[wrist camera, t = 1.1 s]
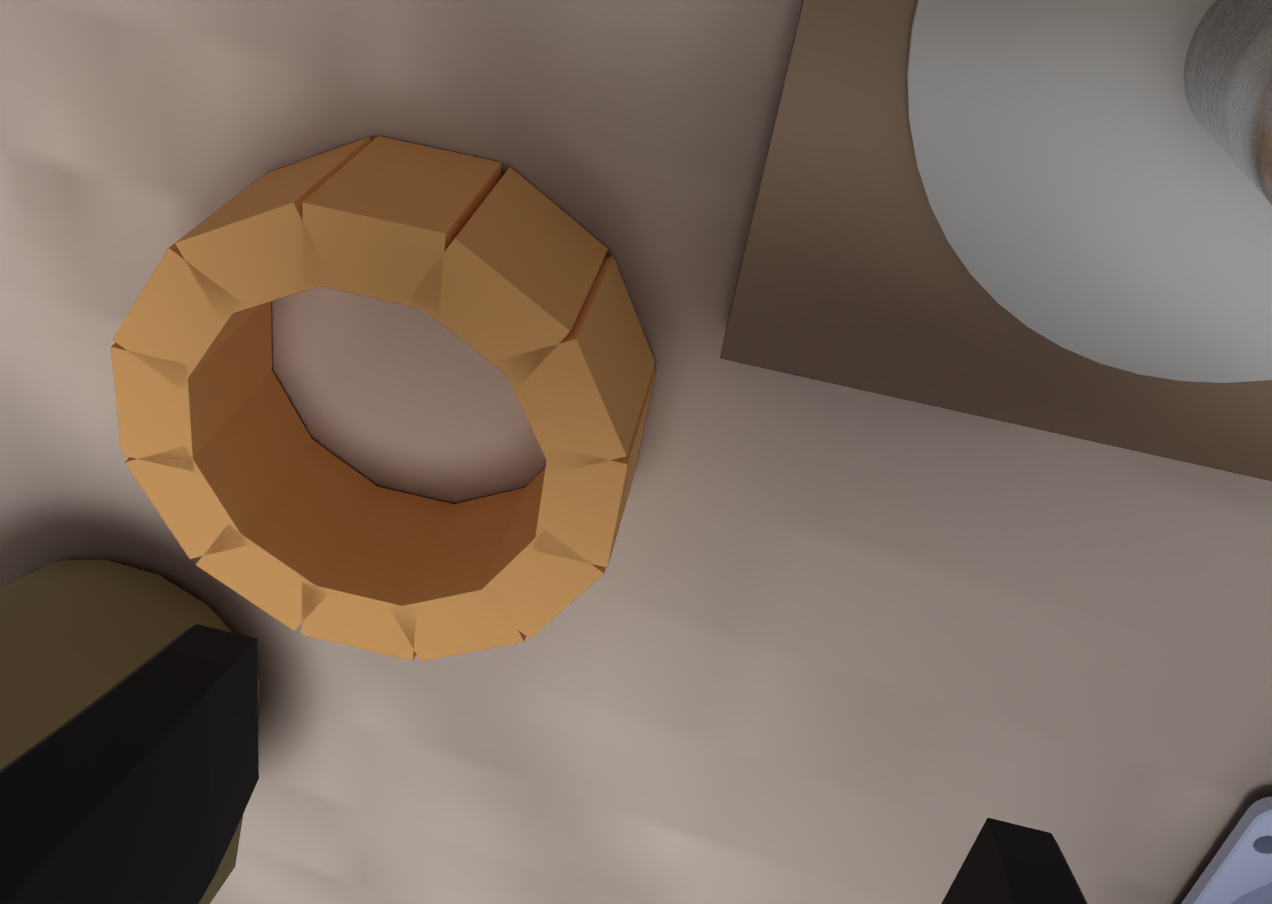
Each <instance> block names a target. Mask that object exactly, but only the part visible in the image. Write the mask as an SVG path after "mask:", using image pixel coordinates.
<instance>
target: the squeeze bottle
mask: <svg viewBox="0 0 1272 904" xmlns="http://www.w3.org/2000/svg"><path fill="white" fill-rule="evenodd" d="M196 624H199V625H203V626H207V627H211V628H215V629H219V630H223V631H227V632H232V631H231V630H230V629H229V628H228V627H227V626H226V624H225V623H224V622H223V621H222V620H221V619H220V618H219V617H218V616H217V615H216V614H215V613H214V612H213V610H212V609H211V608H210V607H209V606H208V605H207V604H205V603H204V602H202V601H200V600H199V599H197V598H195V597H194V596H192V595H190V594H189V593H187V592H186V591H184V590H182V589H181V588H179V587H177V586H176V585H174V584H172V583H171V582H169V581H168V580H166V579H164V578H163V577H161V576H159V575H157V574H154V573H150V572H147V571H143V570H140V569H137V568H133V567H130V566H126V565H123V564H119V563H116V562H112V561H109V560H106V559H98V560H67V561H55V562H53V563H51V564H49V565H47V566H44V567H42V568H40V569H38V570H36V571H34V572H32V573H30V574H28V575H25V576H23V577H21V578H19V579H17V580H15V581H13V582H11V583H8V584H6V585H4V586H2V587H0V770H1V769H2V768H4V767H5V766H6V765H8V764H9V763H10V762H12V761H13V760H15V759H16V758H17V757H19V756H20V755H22V754H23V753H24V752H26V751H27V750H28V749H30V748H31V747H33V746H34V745H35V744H37V743H38V742H40V741H41V740H42V739H44V738H45V737H46V736H48V735H49V734H51V733H52V732H53V731H55V730H56V729H58V728H59V727H60V726H62V725H63V724H64V723H66V722H67V721H68V720H70V719H71V718H72V717H74V716H75V715H76V714H78V713H79V712H80V711H82V710H83V709H84V708H86V707H87V706H88V705H90V704H91V703H92V702H94V701H95V700H96V699H98V698H99V697H100V696H102V695H103V694H104V693H106V692H107V691H108V690H109V689H111V688H112V687H113V686H115V685H116V684H117V683H119V682H120V681H121V680H122V679H124V678H125V677H126V676H128V675H129V674H130V673H131V672H133V671H134V670H135V669H137V668H138V667H139V666H140V665H142V664H143V663H144V662H146V661H147V660H148V659H149V658H151V657H152V656H153V655H155V654H156V653H157V652H158V651H160V650H161V649H162V648H164V647H165V646H166V645H167V644H169V643H170V642H171V641H173V640H174V639H175V638H176V637H178V636H179V635H180V634H182V633H183V632H184V631H185V630H187V629H189V628H191V627H192V626H194V625H196ZM232 633H233V632H232ZM257 689H258V710H259V696H260V682H259V679H258V677H257ZM242 818H243V815H242V817H241V820H240V822H239V824H238V827H237V829H236V831H235V833H234V835H233V838H232V840H231V842H230V844H229V846H228V848H227V850H226V853H225V855H224V857H223V859H222V861H221V863H220V866H219V868H218V870H217V872H216V874H215V876H214V878H213V880H212V881H211V883H210V885H209V887H208V888H207V890H206V892H205V893H204V895H203V897H202V899H201V900H200V902H199V904H210V902H211V901H212V899H213V898H214V897H215V895H216V894H217V892H218V891H219V889H220V888H221V886H222V885H223V883H224V882H225V880H226V879H227V877H228V876H229V874H230V873H231V872H232V870H233V869H234V867H235V863H236V857H237V850H238V844H239V837H240V831H241V825H242Z"/></svg>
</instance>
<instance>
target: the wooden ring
mask: <svg viewBox="0 0 1272 904" xmlns="http://www.w3.org/2000/svg"><path fill="white" fill-rule="evenodd" d="M501 168H502V162H497V161H492V160H488V159H483V158H479V157H474V156H469V155H465V154H460V153H456V152H451V151H446V150H442V149H437V148H433V147H428V146H423V145H419V144H414V143H410V142H405V141H400V140H396V139H391V138H387V137H382V136H378V137H377V138H375V139H374V140H373V141H372V139H371V137H367V138H364V139H361V140H358V141H355V142H353V143H350V144H347V145H344V146H341V147H339V148H336V149H333V150H330V151H327V152H325V153H322V154H319V155H316V156H313V157H311V158H308V159H305V160H302V161H299V162H297V163H294V164H291V165H288V166H285V167H283V168H280V169H277V170H274V171H271V172H268V173H266V174H264V175H263V176H262V177H260V178H259V179H258V180H256V181H255V182H254V183H253V184H251V185H250V186H249V187H247V188H246V189H245V190H243V191H242V192H241V193H240V194H238V195H237V196H236V197H234V198H233V199H232V200H230V201H229V202H228V203H227V204H225V205H224V206H223V207H221V208H220V209H219V210H217V211H216V212H215V213H214V214H212V215H211V216H210V217H208V218H207V219H206V220H204V221H203V222H202V223H201V224H199V225H198V226H197V227H195V228H194V229H193V230H191V231H190V232H189V233H188V234H186V235H185V236H184V237H182V238H181V239H180V240H178V241H177V242H176V243H175V244H173V245H172V246H171V247H169V248H168V250H167V252H166V253H165V255H164V257H163V258H162V260H161V261H160V263H159V265H158V266H157V268H156V269H155V271H154V273H153V274H152V276H151V278H150V279H149V281H148V282H147V284H146V286H145V287H144V289H143V290H142V292H141V294H140V295H139V297H138V299H137V300H136V302H135V303H134V305H133V307H132V308H131V310H130V312H129V313H128V315H127V316H126V318H125V320H124V321H123V323H122V324H121V326H120V328H119V329H118V331H117V333H116V334H115V336H114V337H113V339H112V340H113V341H115V342H116V343H115V344H113V345H112V346H111V356H112V365H113V375H114V385H115V394H116V404H117V413H118V423H119V433H120V442H121V452H122V455H123V456H127V457H130V458H129V459H128V460H127V461H126V462H125V464H126V465H127V467H128V468H129V470H130V471H131V473H132V474H133V476H134V477H135V479H136V480H137V482H138V483H139V485H140V486H141V487H142V489H143V490H144V492H145V493H146V495H147V496H148V498H149V499H150V501H151V502H152V504H153V505H154V507H155V508H156V510H157V511H158V513H159V514H160V516H161V517H162V519H163V520H164V522H165V523H166V525H167V526H168V527H169V529H170V530H171V532H172V533H173V535H174V536H175V538H176V539H177V541H178V542H179V544H180V545H181V547H182V548H183V550H184V551H185V553H186V554H187V556H188V557H189V559H193V558H197V557H201V556H202V557H201V559H200V560H199V561H198V563H197V564H196V565H197V566H198V567H200V568H201V569H203V570H204V571H206V572H207V573H208V574H210V575H211V576H213V577H214V578H216V579H217V580H219V581H220V582H222V583H223V584H225V585H226V586H228V587H229V588H231V589H232V590H234V591H235V592H237V593H238V594H240V595H241V596H243V597H244V598H246V599H247V600H248V601H250V602H251V603H253V604H254V605H256V606H257V607H259V608H260V609H262V610H263V611H265V612H266V613H268V614H269V615H271V616H272V617H274V618H275V619H277V620H278V621H280V622H281V623H283V624H284V625H286V626H287V627H288V628H290V629H291V630H293V631H295V630H296V629H297V628H298V627H299V626H300V624H301V623H302V635H305V636H309V637H314V638H318V639H322V640H326V641H331V642H335V643H339V644H343V645H348V646H352V647H356V648H360V649H364V650H369V651H373V652H377V653H381V654H386V655H390V656H394V657H398V658H403V659H407V660H411V661H413V660H414V657H415V655H416V654H417V656H418V658H419V660H420V661H424V660H430V659H435V658H440V657H446V656H451V655H456V654H462V653H467V652H473V651H478V650H483V649H489V648H494V647H499V646H505V645H510V644H516V643H521V642H524V641H525V638H526V636H527V637H528V638H530V639H531V638H532V637H533V636H534V635H535V634H537V633H538V632H539V631H540V630H541V629H542V628H543V627H544V626H546V625H547V624H548V623H549V622H550V621H551V620H552V619H553V618H555V617H556V616H557V615H558V614H559V613H560V612H561V611H562V610H564V609H565V608H566V607H567V606H568V605H569V604H570V603H571V602H573V601H574V600H575V599H576V598H577V597H578V596H579V595H580V594H582V593H583V592H584V591H585V590H586V589H587V588H588V587H589V586H591V585H592V584H593V583H594V582H595V581H596V580H597V579H598V578H600V577H601V576H602V575H603V574H604V572H605V568H606V567H608V564H609V560H610V557H611V553H612V550H613V546H614V543H615V540H616V536H617V533H618V529H619V526H620V522H621V519H622V515H623V512H624V508H625V505H626V501H627V498H628V494H629V491H630V487H631V484H632V480H633V477H634V473H635V470H636V466H637V462H638V457H639V452H640V447H641V442H642V437H643V432H644V427H645V422H646V417H647V412H648V407H649V402H650V397H651V392H652V387H653V382H654V377H655V372H656V369H653V368H654V365H655V360H654V357H653V355H652V352H651V350H650V347H649V345H648V342H647V339H646V337H645V334H644V332H643V329H642V327H641V324H640V322H639V319H638V317H637V314H636V312H635V309H634V307H633V304H632V302H631V299H630V297H629V294H628V292H627V289H626V286H625V284H624V281H623V279H622V276H621V274H620V271H619V269H618V266H617V264H616V261H615V259H614V256H611V257H607V258H604V257H605V255H606V253H607V251H608V248H607V247H606V246H604V245H603V244H602V243H601V242H600V241H598V240H597V239H596V238H595V237H594V236H592V235H591V234H590V233H589V232H588V231H586V230H585V229H584V228H583V227H582V226H580V225H579V224H578V223H577V222H576V221H574V220H573V219H572V218H571V217H570V216H568V215H567V214H566V213H565V212H564V211H563V210H561V209H560V208H559V207H558V206H557V205H555V204H554V203H553V202H552V201H551V200H549V199H548V198H547V197H546V196H545V195H543V194H542V193H541V192H540V191H539V190H537V189H536V188H535V187H534V186H533V185H531V184H530V183H529V182H528V181H527V180H525V179H524V178H523V177H522V176H521V175H520V174H518V173H517V172H516V171H515V170H514V169H512V168H511V167H509V169H508V170H507V171H506V172H505V174H504V175H503V176H502V177H501ZM500 178H501V179H500ZM318 286H322V287H326V288H331V289H335V290H340V291H344V292H349V293H353V294H358V295H362V296H367V297H371V298H376V299H380V300H385V301H389V302H394V303H398V304H403V305H407V306H412V307H416V308H420V309H423V310H424V311H426V312H427V313H428V314H429V315H431V316H432V317H433V318H435V319H436V320H437V321H438V322H440V323H441V324H442V325H444V326H445V327H446V328H447V329H449V330H450V331H451V332H452V333H454V334H455V335H456V336H458V337H459V338H460V339H461V340H463V341H464V342H465V343H467V344H468V345H469V346H470V347H472V348H473V349H474V350H476V351H477V352H478V353H479V354H481V355H482V356H483V357H485V358H486V359H487V360H488V361H490V362H491V363H492V364H493V365H495V366H496V367H497V368H499V369H500V370H501V371H502V372H504V373H505V374H506V375H507V376H508V379H509V381H510V383H511V385H512V387H513V389H514V391H515V394H516V396H517V398H518V400H519V402H520V404H521V406H522V409H523V411H524V413H525V415H526V417H527V419H528V421H529V423H530V426H531V428H532V430H533V432H534V434H535V436H536V438H537V441H538V443H539V445H540V447H541V449H542V451H543V453H544V456H545V458H546V460H547V462H546V467H545V468H544V469H543V470H542V471H541V472H540V473H539V474H538V475H537V476H536V477H535V478H534V479H533V480H532V481H531V482H530V483H529V484H528V485H527V486H526V487H525V488H521V489H517V490H513V491H508V492H504V493H500V494H496V495H491V496H487V497H483V498H478V499H474V500H470V501H465V502H461V503H457V504H451V503H447V502H442V501H438V500H434V499H429V498H425V497H421V496H416V495H412V494H408V493H403V492H399V491H395V490H390V489H386V488H382V487H377V486H376V485H375V484H373V483H372V482H371V481H369V480H368V479H366V478H365V477H364V476H362V475H361V474H359V473H358V472H357V471H355V470H354V469H353V468H351V467H350V466H348V465H347V464H346V463H344V462H343V461H342V460H340V459H339V458H337V457H336V456H335V455H333V454H332V453H331V452H329V451H328V450H326V449H325V448H324V447H322V446H321V445H320V444H318V443H317V442H315V441H314V440H313V439H312V438H311V437H310V435H309V433H308V431H307V430H306V428H305V426H304V424H303V423H302V421H301V419H300V418H299V416H298V414H297V412H296V411H295V409H294V407H293V405H292V404H291V402H290V400H289V398H288V397H287V395H286V393H285V392H284V390H283V388H282V386H281V385H280V383H279V381H278V379H277V378H276V376H275V374H274V372H273V371H272V321H271V301H273V300H276V299H279V298H283V297H286V296H289V295H292V294H295V293H299V292H302V291H305V290H308V289H311V288H315V287H318Z"/></svg>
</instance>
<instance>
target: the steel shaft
mask: <svg viewBox="0 0 1272 904" xmlns="http://www.w3.org/2000/svg"><path fill="white" fill-rule="evenodd" d="M1184 83H1185V91H1186V96H1187V100H1188V103H1189V105H1190V108H1191V110H1192V112H1193V114H1194V115H1195V117H1196V119H1197V120H1198V122H1199V123H1200V124H1201V125H1202V126H1203V128H1204V129H1205V130H1206V131H1207V132H1208V133H1209V135H1210V136H1211V137H1212V138H1213V139H1214V140H1215V141H1216V143H1217V144H1218V145H1219V146H1220V147H1221V148H1222V149H1223V151H1224V152H1225V153H1226V154H1227V155H1228V156H1229V157H1230V158H1231V160H1232V161H1233V162H1234V163H1235V164H1236V165H1237V166H1238V168H1239V169H1240V170H1241V171H1242V172H1243V173H1244V174H1245V176H1246V177H1247V178H1248V179H1249V180H1250V181H1251V182H1252V184H1253V185H1254V186H1255V187H1256V188H1257V189H1258V190H1259V192H1260V193H1261V194H1262V195H1263V196H1264V197H1265V198H1266V199H1267V201H1268V202H1269V203H1270V204H1271V205H1272V0H1216V1H1215V2H1214V3H1213V5H1212V6H1211V7H1210V8H1209V10H1208V11H1207V12H1206V14H1205V15H1204V17H1203V18H1202V20H1201V21H1200V23H1199V25H1198V27H1197V29H1196V31H1195V33H1194V35H1193V37H1192V40H1191V43H1190V45H1189V48H1188V52H1187V56H1186V61H1185V70H1184Z"/></svg>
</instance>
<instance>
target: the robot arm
mask: <svg viewBox="0 0 1272 904" xmlns="http://www.w3.org/2000/svg"><path fill="white" fill-rule="evenodd" d="M258 779H259V772H258V689H257V639H256V638H252V637H248V636H244V635H240V634H236V633H232V632H227V631H223V630H219V629H215V628H211V627H207V626H203V625H199V624H196V625H194V626H192V627H191V628H189V629H187V630H185V631H184V632H183V633H182V634H180V635H179V636H178V637H176V638H175V639H174V640H173V641H171V642H170V643H169V644H167V645H166V646H165V647H164V648H162V649H161V650H160V651H158V652H157V653H156V654H155V655H153V656H152V657H151V658H149V659H148V660H147V661H146V662H144V663H143V664H142V665H140V666H139V667H138V668H137V669H135V670H134V671H133V672H131V673H130V674H129V675H128V676H126V677H125V678H124V679H122V680H121V681H120V682H119V683H117V684H116V685H115V686H113V687H112V688H111V689H109V690H108V691H107V692H106V693H104V694H103V695H102V696H100V697H99V698H98V699H96V700H95V701H94V702H92V703H91V704H90V705H88V706H87V707H86V708H84V709H83V710H82V711H80V712H79V713H78V714H76V715H75V716H74V717H72V718H71V719H70V720H68V721H67V722H66V723H64V724H63V725H62V726H60V727H59V728H58V729H56V730H55V731H53V732H52V733H51V734H49V735H48V736H46V737H45V738H44V739H42V740H41V741H40V742H38V743H37V744H35V745H34V746H33V747H31V748H30V749H28V750H27V751H26V752H24V753H23V754H22V755H20V756H19V757H17V758H16V759H15V760H13V761H12V762H10V763H9V764H8V765H6V766H5V767H4V768H2V769H1V770H0V904H199V902H200V900H201V899H202V897H203V895H204V893H205V892H206V890H207V888H208V887H209V885H210V883H211V881H212V880H213V878H214V876H215V874H216V872H217V870H218V868H219V866H220V863H221V861H222V859H223V857H224V855H225V853H226V850H227V848H228V846H229V844H230V842H231V840H232V838H233V835H234V833H235V831H236V829H237V827H238V824H239V822H240V820H241V817H242V815H243V813H244V811H245V808H246V806H247V804H248V802H249V799H250V797H251V795H252V792H253V790H254V788H255V786H256V783H257V781H258ZM1263 836H1266V837H1263ZM942 904H1087V902H1086V900H1085V898H1084V896H1083V894H1082V892H1081V890H1080V888H1079V886H1078V884H1077V882H1076V880H1075V878H1074V876H1073V874H1072V872H1071V870H1070V868H1069V866H1068V864H1067V862H1066V860H1065V858H1064V856H1063V854H1062V852H1061V850H1060V848H1059V846H1058V844H1057V842H1056V841H1055V839H1054V837H1053V835H1052V834H1051V833H1048V832H1044V831H1040V830H1036V829H1032V828H1027V827H1023V826H1019V825H1015V824H1011V823H1007V822H1003V821H999V820H995V819H991V818H987V820H986V822H985V824H984V826H983V827H982V829H981V831H980V833H979V835H978V837H977V839H976V840H975V842H974V844H973V846H972V848H971V850H970V852H969V854H968V855H967V857H966V859H965V861H964V863H963V865H962V867H961V868H960V870H959V872H958V874H957V876H956V878H955V880H954V881H953V883H952V885H951V887H950V889H949V891H948V893H947V895H946V896H945V898H944V900H943V902H942ZM1181 904H1272V796H1271V797H1264V798H1262V799H1260V800H1258V801H1256V802H1254V803H1253V804H1252V805H1251V806H1250V807H1249V808H1248V809H1247V811H1246V812H1245V814H1244V815H1243V817H1242V818H1241V819H1240V821H1239V822H1238V824H1237V825H1236V826H1235V828H1234V829H1233V831H1232V832H1231V834H1230V835H1229V836H1228V838H1227V839H1226V841H1225V842H1224V843H1223V845H1222V846H1221V848H1220V849H1219V851H1218V852H1217V853H1216V855H1215V856H1214V858H1213V859H1212V860H1211V862H1210V863H1209V865H1208V866H1207V868H1206V869H1205V870H1204V872H1203V873H1202V875H1201V876H1200V877H1199V879H1198V880H1197V882H1196V883H1195V885H1194V886H1193V887H1192V889H1191V890H1190V892H1189V893H1188V894H1187V896H1186V897H1185V899H1184V900H1183V902H1182V903H1181Z"/></svg>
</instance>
